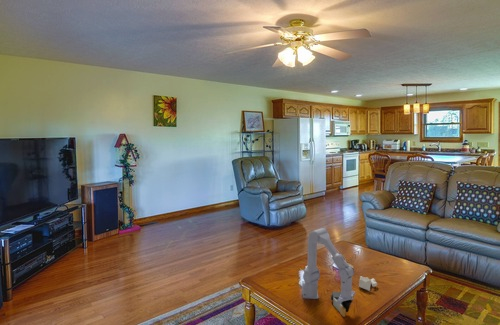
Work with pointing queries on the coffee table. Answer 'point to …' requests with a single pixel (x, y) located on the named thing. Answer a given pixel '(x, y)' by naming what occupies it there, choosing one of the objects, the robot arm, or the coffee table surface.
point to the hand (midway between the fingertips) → (346, 311)
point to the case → (336, 295)
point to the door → (339, 307)
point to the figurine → (366, 283)
